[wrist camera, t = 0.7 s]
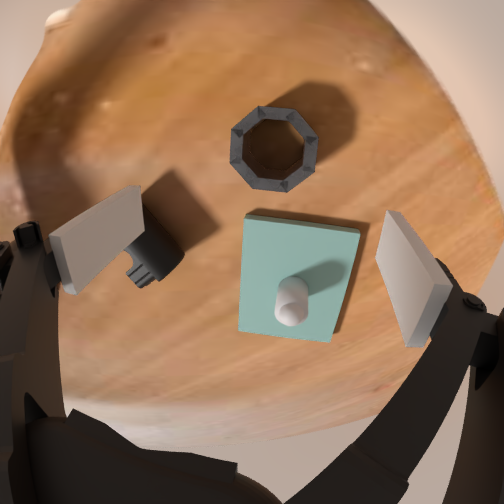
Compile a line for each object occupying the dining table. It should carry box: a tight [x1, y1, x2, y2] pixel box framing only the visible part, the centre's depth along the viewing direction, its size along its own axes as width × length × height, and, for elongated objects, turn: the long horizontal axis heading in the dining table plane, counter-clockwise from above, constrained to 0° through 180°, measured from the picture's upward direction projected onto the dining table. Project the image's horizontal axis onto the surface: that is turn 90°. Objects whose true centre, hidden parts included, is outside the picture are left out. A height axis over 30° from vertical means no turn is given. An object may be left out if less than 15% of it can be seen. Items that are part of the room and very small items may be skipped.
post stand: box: [238, 214, 360, 342], centre depth 36 cm, size 14×18×8 cm
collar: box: [230, 106, 319, 193], centre depth 29 cm, size 8×8×5 cm
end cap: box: [124, 204, 185, 288], centre depth 36 cm, size 10×7×7 cm
